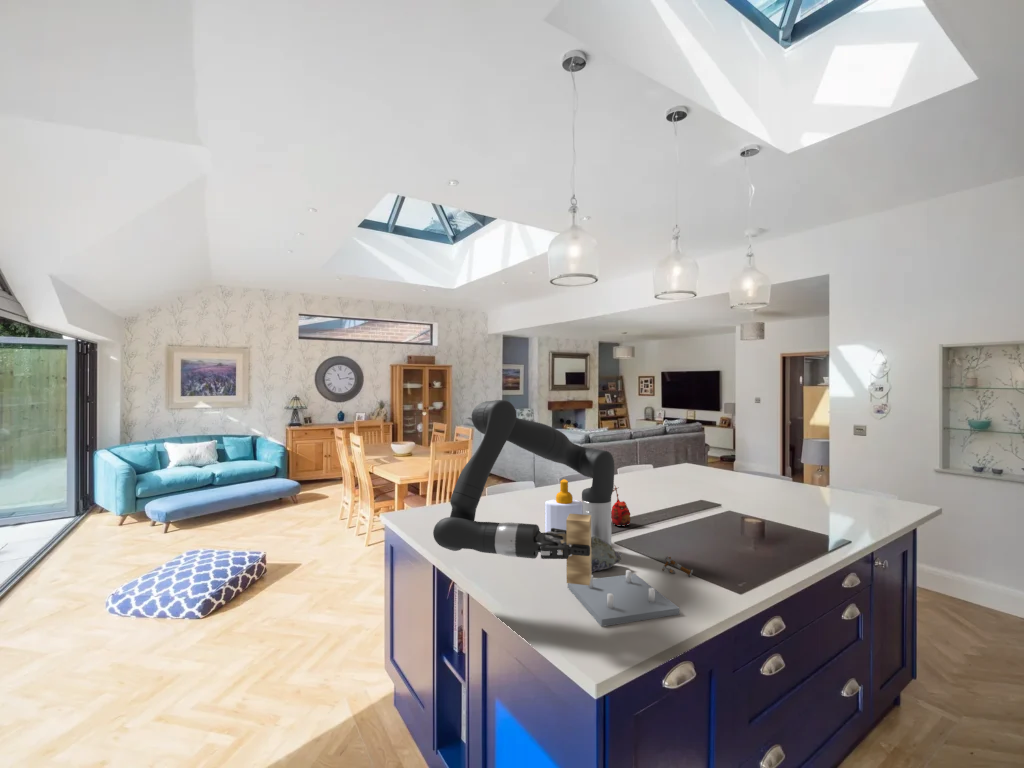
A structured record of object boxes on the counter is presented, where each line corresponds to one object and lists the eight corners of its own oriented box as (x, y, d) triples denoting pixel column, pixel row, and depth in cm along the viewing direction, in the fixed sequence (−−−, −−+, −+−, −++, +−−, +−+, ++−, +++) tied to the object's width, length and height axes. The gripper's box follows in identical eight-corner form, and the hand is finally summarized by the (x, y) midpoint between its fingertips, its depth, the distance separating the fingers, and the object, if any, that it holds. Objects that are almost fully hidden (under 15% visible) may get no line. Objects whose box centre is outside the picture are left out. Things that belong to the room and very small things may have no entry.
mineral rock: (622, 565, 136) (621, 532, 136) (619, 580, 125) (618, 544, 125) (578, 560, 140) (578, 528, 140) (572, 574, 129) (572, 539, 129)
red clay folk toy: (621, 529, 170) (620, 489, 170) (606, 524, 175) (606, 485, 175) (634, 525, 174) (634, 486, 174) (620, 521, 180) (619, 483, 180)
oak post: (566, 582, 101) (566, 519, 101) (569, 573, 106) (569, 513, 106) (589, 585, 100) (589, 521, 100) (591, 576, 104) (591, 515, 104)
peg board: (567, 587, 121) (567, 570, 121) (635, 579, 126) (634, 562, 126) (601, 626, 102) (601, 606, 102) (679, 614, 107) (679, 595, 107)
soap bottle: (582, 536, 162) (582, 479, 162) (584, 544, 153) (584, 484, 153) (545, 535, 163) (545, 478, 163) (544, 543, 155) (544, 483, 155)
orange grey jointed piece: (659, 566, 133) (666, 553, 132) (686, 582, 129) (693, 569, 129) (658, 569, 131) (665, 555, 130) (685, 585, 128) (692, 571, 127)
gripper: (509, 533, 99) (588, 540, 95) (524, 515, 113) (593, 520, 109) (509, 568, 99) (588, 576, 95) (524, 545, 113) (594, 551, 109)
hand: (590, 546), depth 102 cm, fingers closed on oak post, 5 cm apart
